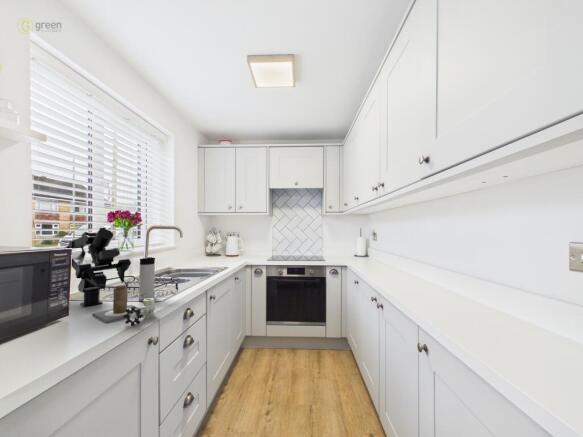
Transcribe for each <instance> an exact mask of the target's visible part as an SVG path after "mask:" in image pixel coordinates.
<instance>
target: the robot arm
mask: <svg viewBox="0 0 583 437" xmlns="http://www.w3.org/2000/svg"><path fill="white" fill-rule="evenodd" d="M113 237H114V233H113V232H112V231H111V230H109V229H107V228H106V227H99V229H98V231H84V232H83V233H82V234H81V237H77V238H75V239H72V240H69V242H68V245H66V246H65V248H72V249H81V251H71V252H72V269H73V270H74V271H75V273H74V274H75V278H76V279H80V282H79V284H78V285H77V288H78V292H81V293H83V300H82V301H83V302H80V305H81V306H83V307H85V308H86V307H91V306H95V305H101V304H103V303H104V302H103V301H101V299H100V297H101V296H100V293H101V290H105V289H106V286H107V281H108V279H107V276H106V275H105V273H104V271H107V270H113V269H114V270H116V271H117V272H116V274H117V275H118V278H119V280H120V281H121V283H124V282H125V274H126V271H128V270H129V268H130V267H131V266H130V265H131V264H132V262H131V260H130V258H122V259H118V262H117V263H114V259H115V258H116V257H119V255H120V254H121V253H120V248H119V247H114V248H112V249H106V248H107V247H108V246H109V245H110V243H111V241H112V239H113ZM87 246H88V250H87V254H88V255H90V257H91V259H92V260H91V263H87V262H86V261H85V258H86V252H85V249H84V248H85V247H87ZM92 264H94V265H93V266H92Z"/></svg>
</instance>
